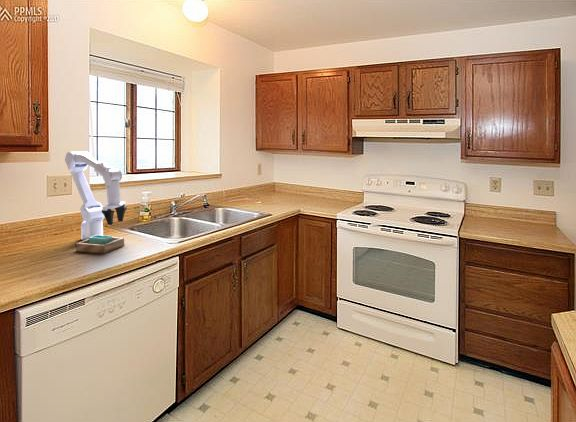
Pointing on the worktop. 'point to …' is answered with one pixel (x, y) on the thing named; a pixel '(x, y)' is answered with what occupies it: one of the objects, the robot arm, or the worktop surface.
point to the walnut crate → (99, 246)
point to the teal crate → (100, 239)
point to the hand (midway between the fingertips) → (115, 223)
